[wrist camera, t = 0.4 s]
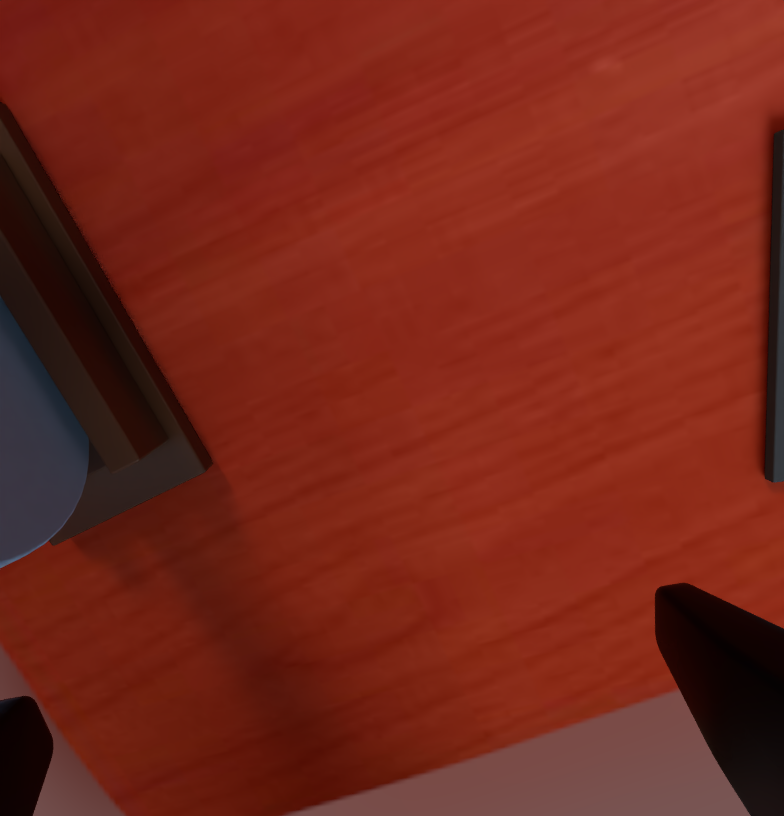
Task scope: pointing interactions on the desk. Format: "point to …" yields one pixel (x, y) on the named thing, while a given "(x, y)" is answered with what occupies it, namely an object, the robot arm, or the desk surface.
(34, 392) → the disc
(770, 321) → the mat
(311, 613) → the desk surface
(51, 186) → the rack
